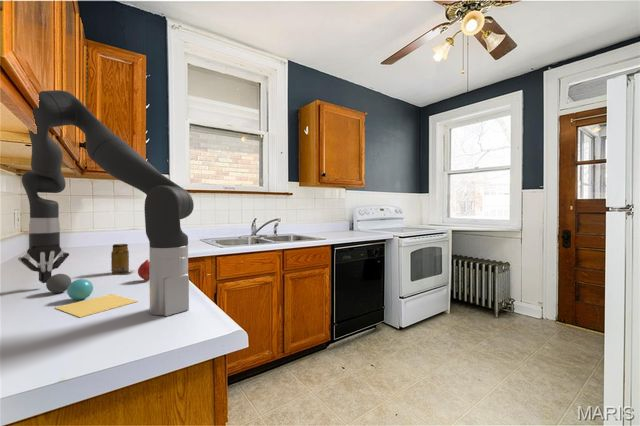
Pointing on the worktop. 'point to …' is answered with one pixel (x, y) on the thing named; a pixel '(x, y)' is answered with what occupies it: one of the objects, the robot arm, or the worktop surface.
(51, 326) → the worktop surface
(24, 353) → the worktop surface
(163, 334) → the worktop surface
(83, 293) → the object ball
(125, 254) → the condiment
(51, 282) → the dark gray ball
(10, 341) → the worktop surface
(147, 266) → the onion
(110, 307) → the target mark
